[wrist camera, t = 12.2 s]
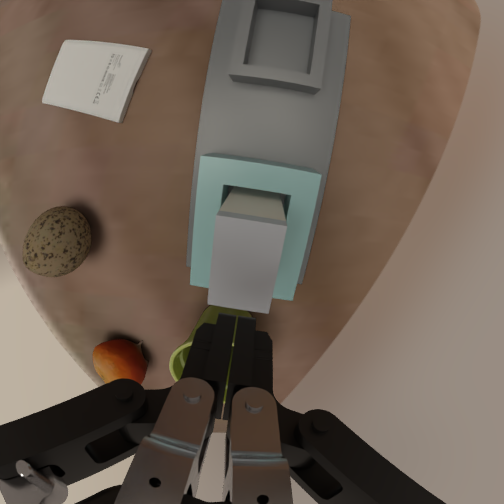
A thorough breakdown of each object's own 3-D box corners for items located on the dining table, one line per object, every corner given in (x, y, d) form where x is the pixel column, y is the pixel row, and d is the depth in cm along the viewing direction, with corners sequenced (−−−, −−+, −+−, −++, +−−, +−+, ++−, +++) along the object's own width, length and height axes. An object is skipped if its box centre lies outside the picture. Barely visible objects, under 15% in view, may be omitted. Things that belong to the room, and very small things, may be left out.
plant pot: (270, 289, 30) (271, 343, 22) (266, 351, 33) (265, 406, 25) (185, 284, 30) (161, 334, 22) (193, 346, 34) (177, 398, 26)
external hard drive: (72, 41, 19) (154, 51, 21) (49, 103, 22) (124, 123, 24) (64, 39, 18) (148, 47, 19) (40, 103, 21) (117, 123, 22)
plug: (235, 184, 24) (215, 215, 15) (279, 191, 24) (287, 226, 15) (227, 245, 27) (207, 304, 18) (268, 252, 27) (268, 313, 18)
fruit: (169, 377, 35) (130, 411, 29) (139, 357, 39) (103, 385, 33) (148, 334, 32) (100, 370, 26) (119, 317, 36) (77, 346, 30)
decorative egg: (52, 225, 28) (0, 258, 19) (76, 185, 26) (15, 210, 17) (87, 265, 30) (40, 309, 21) (114, 229, 28) (61, 269, 19)
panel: (225, 0, 18) (216, -24, 13) (348, 19, 18) (363, -1, 13) (188, 262, 29) (175, 285, 24) (300, 279, 29) (306, 306, 24)
